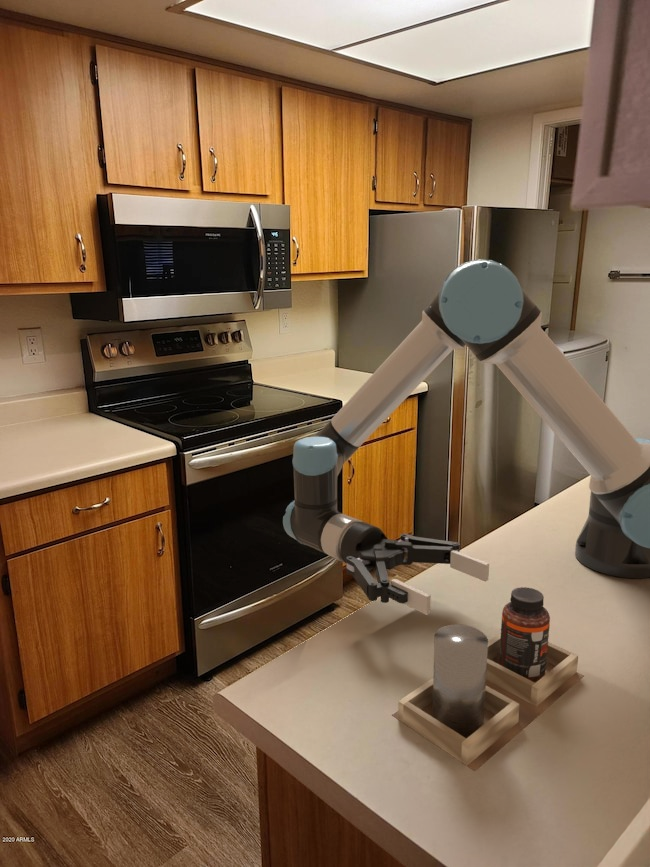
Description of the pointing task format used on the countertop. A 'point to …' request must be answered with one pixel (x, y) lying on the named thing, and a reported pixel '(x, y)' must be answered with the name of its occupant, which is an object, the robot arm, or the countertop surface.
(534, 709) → the wooden divided tray
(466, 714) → the billet
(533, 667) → the supplement bottle
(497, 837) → the countertop surface
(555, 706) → the countertop surface
